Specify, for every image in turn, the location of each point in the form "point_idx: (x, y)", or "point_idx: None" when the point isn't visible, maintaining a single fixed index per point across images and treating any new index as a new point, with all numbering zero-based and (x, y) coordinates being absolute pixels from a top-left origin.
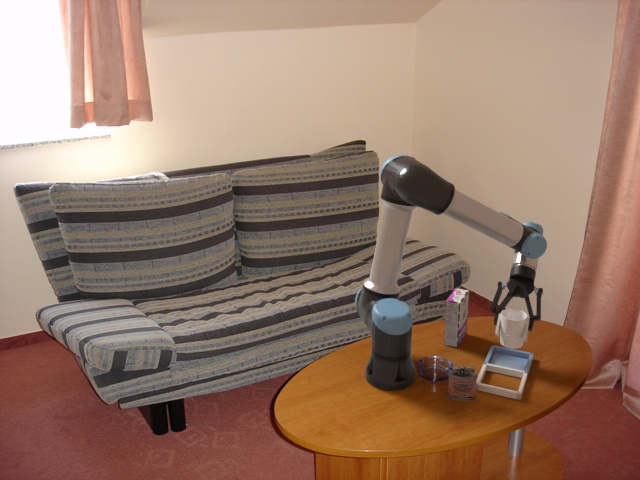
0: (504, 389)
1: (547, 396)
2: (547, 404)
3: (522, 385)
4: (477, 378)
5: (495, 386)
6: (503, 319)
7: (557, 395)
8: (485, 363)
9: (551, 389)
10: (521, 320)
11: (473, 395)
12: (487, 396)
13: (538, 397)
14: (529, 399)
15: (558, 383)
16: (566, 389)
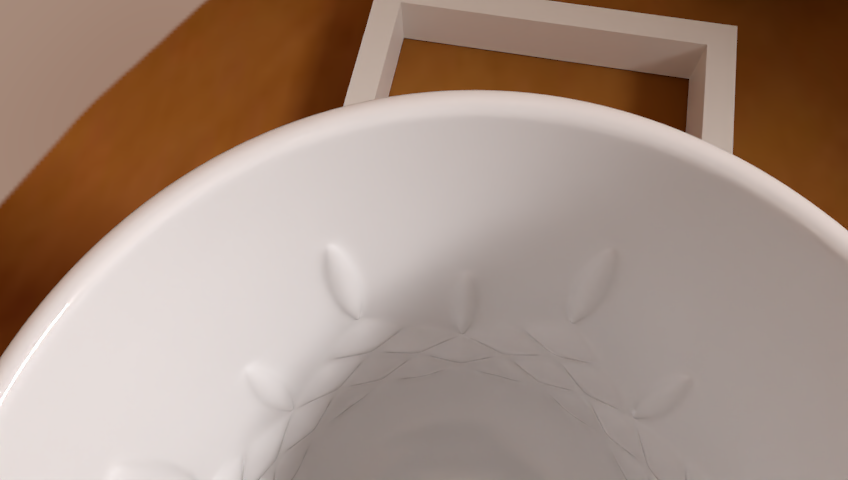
0: (501, 2)
1: (183, 95)
2: (205, 9)
3: (358, 81)
4: (731, 97)
5: (572, 23)
6: (816, 289)
7: (105, 122)
8: None
9: (129, 189)
10: (243, 148)
11: None
12: (611, 7)
13: (252, 70)
14: (319, 35)
15: (45, 289)
16: (8, 215)
